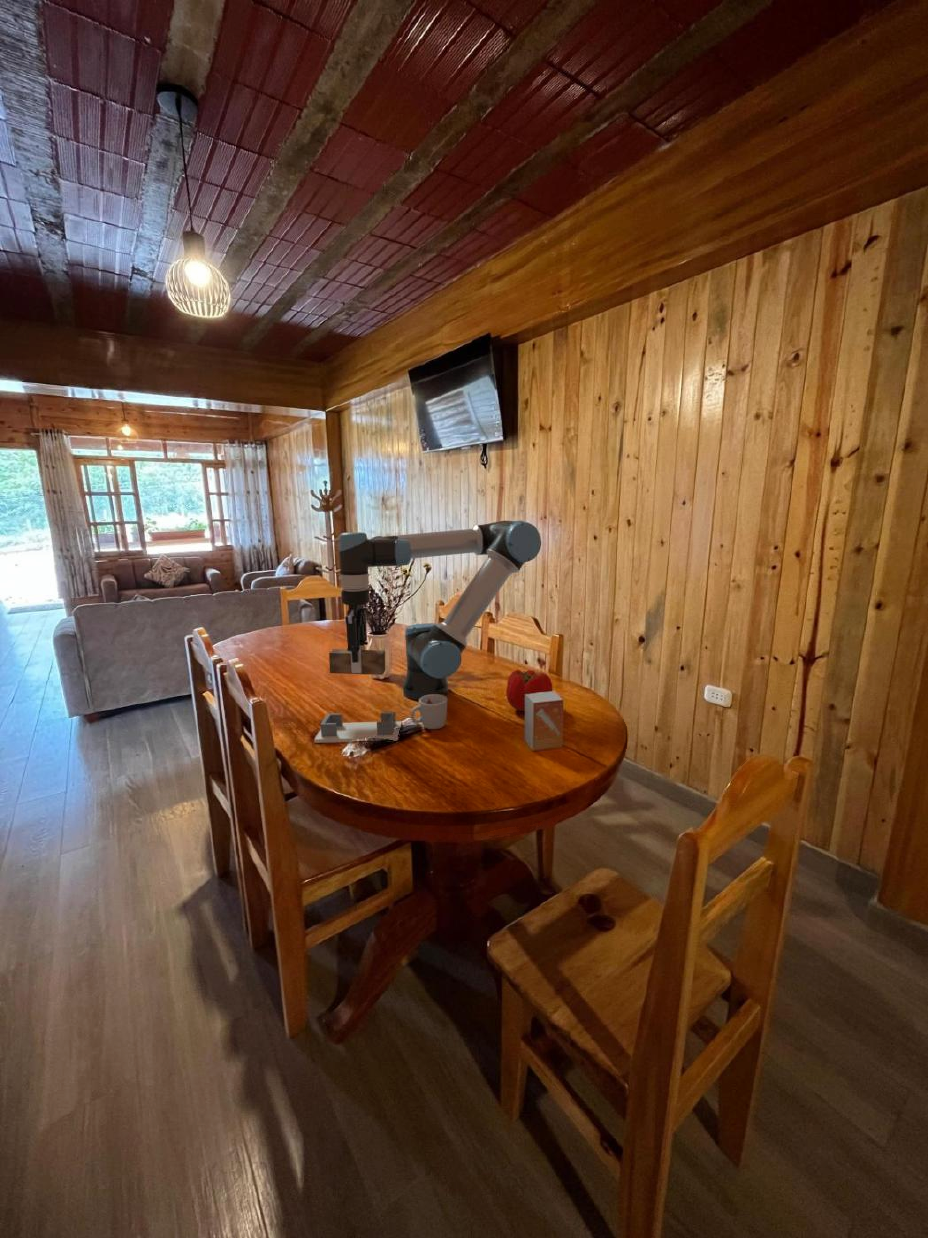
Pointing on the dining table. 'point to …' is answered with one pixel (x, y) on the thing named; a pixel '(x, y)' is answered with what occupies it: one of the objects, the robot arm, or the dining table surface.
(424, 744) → the dining table surface
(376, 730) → the board
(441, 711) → the cup
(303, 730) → the dining table surface
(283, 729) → the dining table surface
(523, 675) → the tomato
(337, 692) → the dining table surface
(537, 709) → the small box
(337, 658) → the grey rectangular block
